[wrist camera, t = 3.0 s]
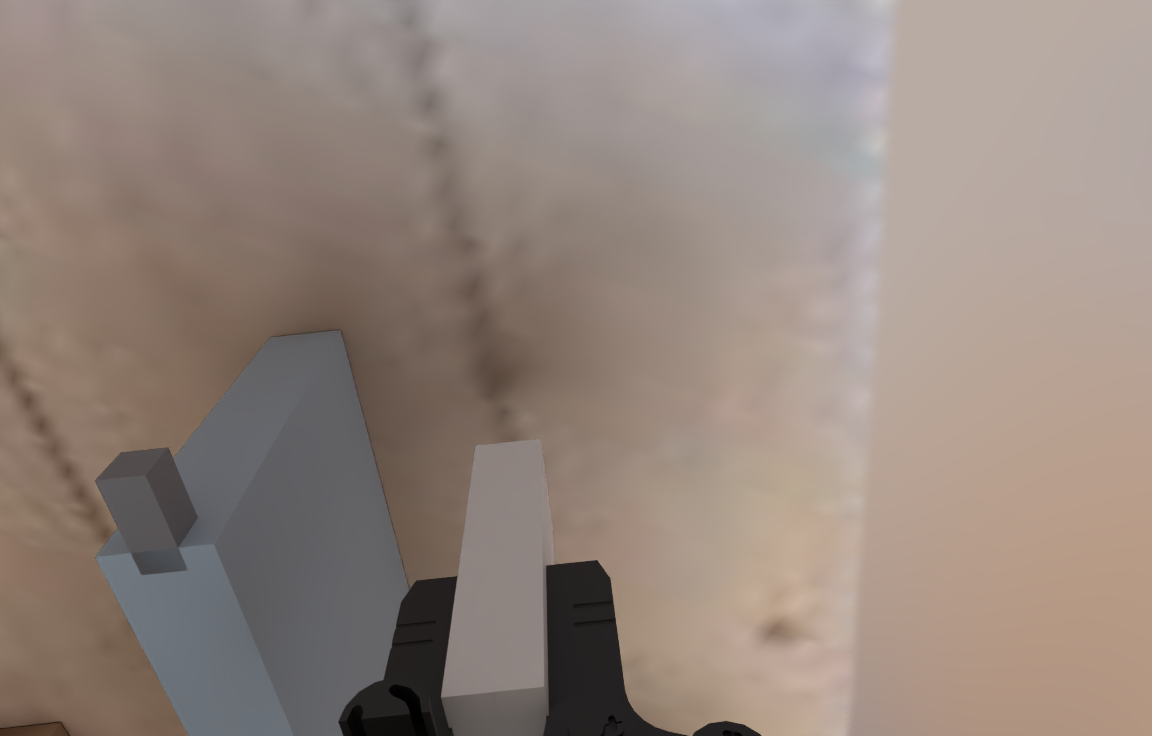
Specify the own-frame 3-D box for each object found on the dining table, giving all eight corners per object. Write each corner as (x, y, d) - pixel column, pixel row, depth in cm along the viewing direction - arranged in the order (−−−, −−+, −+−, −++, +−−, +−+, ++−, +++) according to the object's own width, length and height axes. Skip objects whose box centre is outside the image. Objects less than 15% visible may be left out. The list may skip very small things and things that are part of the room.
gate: (415, 612, 25) (361, 897, 17) (359, 618, 25) (278, 907, 17) (327, 279, 19) (183, 471, 11) (254, 287, 19) (56, 485, 11)
